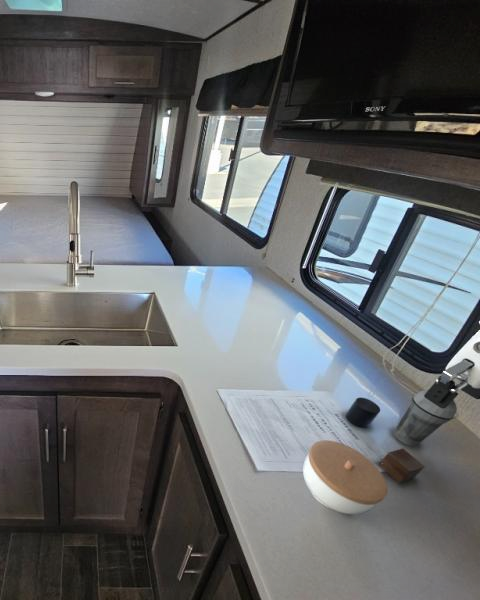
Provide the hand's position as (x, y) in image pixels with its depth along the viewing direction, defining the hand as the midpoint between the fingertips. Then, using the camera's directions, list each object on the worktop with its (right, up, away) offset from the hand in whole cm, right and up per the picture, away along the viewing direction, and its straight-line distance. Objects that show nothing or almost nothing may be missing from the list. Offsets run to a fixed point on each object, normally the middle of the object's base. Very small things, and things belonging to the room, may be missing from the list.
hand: (451, 398), depth 61 cm
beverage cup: (+11, -16, +19) cm, 27 cm away
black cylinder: (+2, -13, +23) cm, 27 cm away
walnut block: (+1, -20, +11) cm, 23 cm away
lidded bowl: (-19, -22, +7) cm, 30 cm away
